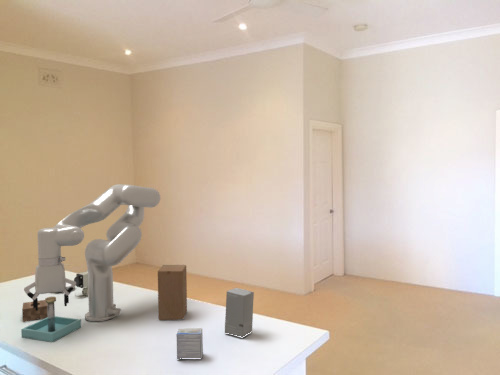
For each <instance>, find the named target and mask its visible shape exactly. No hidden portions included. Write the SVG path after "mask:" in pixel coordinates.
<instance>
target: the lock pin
mask: <svg viewBox="0 0 500 375" xmlns="http://www.w3.org/2000/svg"><path fill="white" fill-rule="evenodd" d="M44 300H45V302H46V303H47V315H48V332H53V331H55V316H56V314H55V312H56V311H55V310H56V308H55V302H56V301H57V297H56V296H48V297H45V298H44Z"/></svg>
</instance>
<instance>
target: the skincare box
mask: <svg viewBox="0 0 500 375" xmlns="http://www.w3.org/2000/svg"><path fill="white" fill-rule="evenodd" d="M254 293H255V292H254V291H251V290H247V289H243V288H240V287H239V288H238V287H235V288H232V289H229V290H227V291H226V298H225V319H224V320H225V321H224V334H225V333H229V334H233V335H237V336H241V337H243V336H245V335H246V334H248V333H250V332H251V331H252V332H253V322H254V321H253V319H254V316H253V314H254V298H255V294H254Z"/></svg>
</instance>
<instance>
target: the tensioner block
mask: <svg viewBox="0 0 500 375" xmlns="http://www.w3.org/2000/svg"><path fill="white" fill-rule="evenodd" d="M21 308H22V309H21V310H22V313H21V314H22V323H25V322H29V321H32V322H33V321H37V320H43V319H45V318H47V317H48V315H47V303H46V302H45V299H42V300H38V310H37V311H36V308H33V301H26V302H23V303H22V307H21Z"/></svg>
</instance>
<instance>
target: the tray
mask: <svg viewBox="0 0 500 375" xmlns="http://www.w3.org/2000/svg"><path fill="white" fill-rule="evenodd" d="M81 322H82V319H80V318H71V317H65V316H56V315H55V331H53V332H48V317H47V318H45V319H39V321H36V322H34V323H32V324H29V325H28V326H25V327H23V328H21V331H20V332H21V334H20V335H21V338H23V339H31V340H37V341H43V342H50V343H54V342H56V341H58V340H60V339H62V338H64V337H65V336H67V335H69V334H71V333H73V332H74V331H77V330H78V329H81V327H82V323H81Z"/></svg>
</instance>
